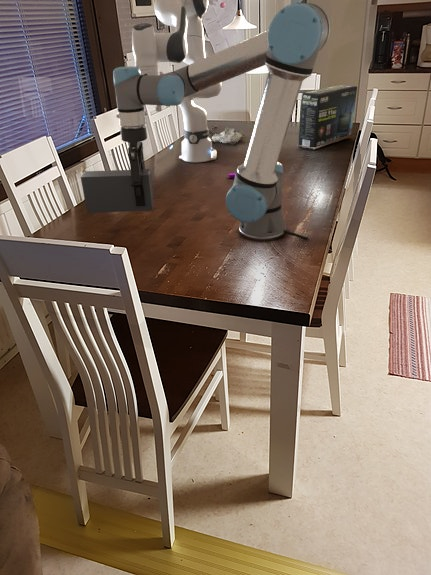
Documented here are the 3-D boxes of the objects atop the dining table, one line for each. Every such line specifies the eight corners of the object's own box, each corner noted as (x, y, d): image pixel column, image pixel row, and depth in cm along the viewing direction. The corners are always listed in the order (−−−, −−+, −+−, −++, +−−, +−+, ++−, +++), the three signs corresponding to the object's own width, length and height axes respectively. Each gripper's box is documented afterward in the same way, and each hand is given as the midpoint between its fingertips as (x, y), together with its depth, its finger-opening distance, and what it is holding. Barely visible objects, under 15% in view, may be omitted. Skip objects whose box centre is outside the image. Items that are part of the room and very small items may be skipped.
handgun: (227, 177, 201) (227, 172, 200) (244, 175, 202) (244, 170, 201) (238, 192, 183) (238, 187, 182) (257, 189, 184) (257, 185, 183)
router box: (314, 151, 231) (318, 94, 217) (296, 148, 237) (299, 92, 224) (352, 138, 251) (358, 85, 238) (335, 135, 258) (340, 83, 245)
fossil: (235, 139, 243) (216, 121, 246) (225, 155, 249) (206, 138, 252) (251, 137, 256) (233, 120, 260) (241, 153, 263) (223, 137, 266)
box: (154, 203, 148) (150, 169, 142) (152, 210, 143) (148, 174, 137) (91, 205, 148) (85, 171, 142) (87, 212, 143) (80, 177, 137)
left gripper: (157, 70, 179) (160, 108, 186) (123, 77, 164) (128, 117, 171) (170, 71, 176) (173, 109, 183) (137, 77, 161) (141, 119, 168)
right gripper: (124, 119, 141) (134, 192, 153) (114, 133, 125) (125, 213, 137) (149, 118, 141) (156, 191, 153) (142, 132, 125) (150, 212, 137)
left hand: (151, 113), depth 177 cm, fingers open, 8 cm apart
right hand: (142, 201), depth 145 cm, fingers closed on box, 6 cm apart
